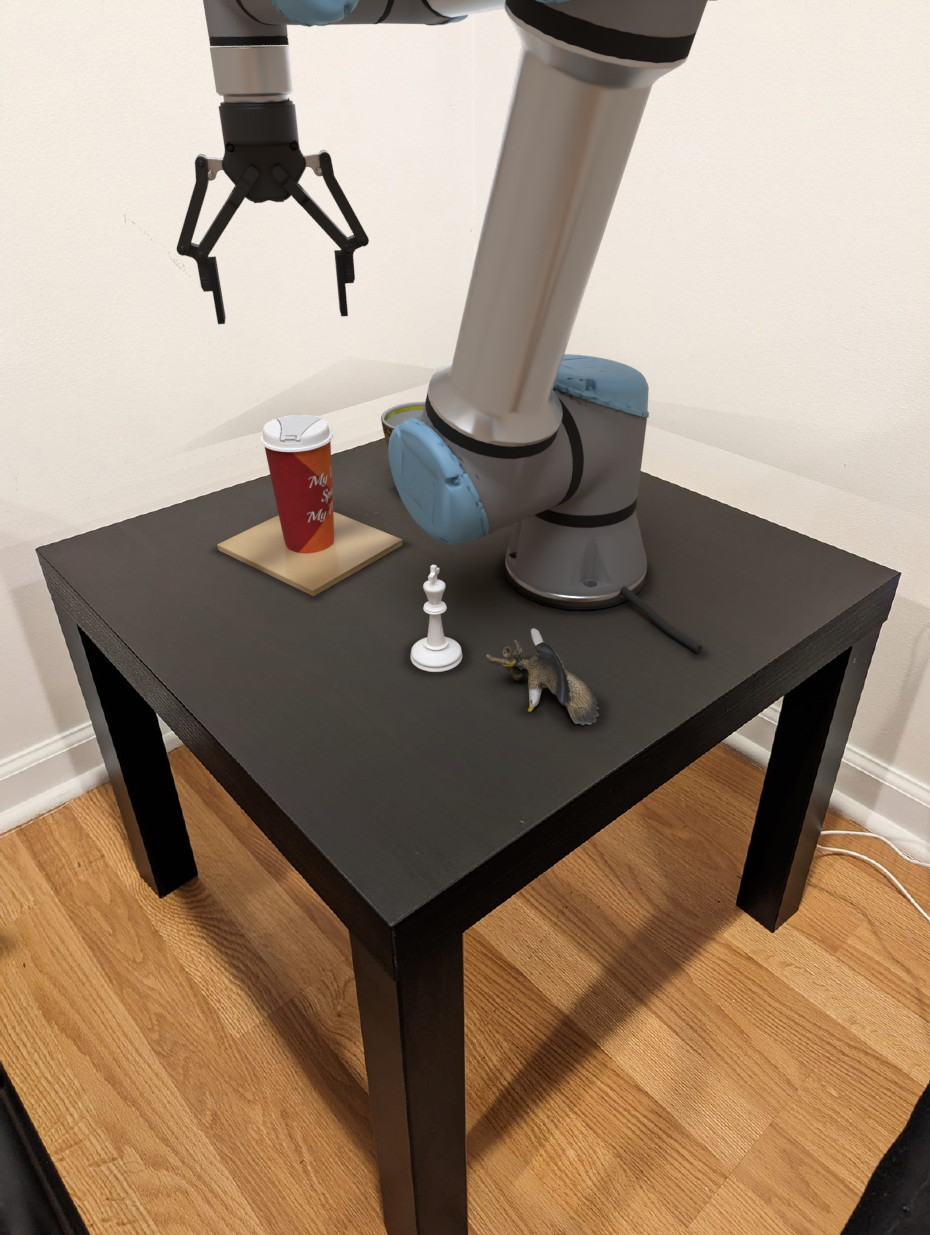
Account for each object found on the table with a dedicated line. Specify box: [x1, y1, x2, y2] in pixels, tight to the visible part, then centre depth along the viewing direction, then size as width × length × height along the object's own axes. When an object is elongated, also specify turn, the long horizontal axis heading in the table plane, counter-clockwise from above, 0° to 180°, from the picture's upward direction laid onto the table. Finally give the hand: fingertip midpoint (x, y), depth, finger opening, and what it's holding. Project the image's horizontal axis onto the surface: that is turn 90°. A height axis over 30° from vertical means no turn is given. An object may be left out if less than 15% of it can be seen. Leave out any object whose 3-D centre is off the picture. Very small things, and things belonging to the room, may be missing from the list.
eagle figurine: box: [485, 627, 600, 726], centre depth 75 cm, size 8×7×9 cm
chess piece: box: [410, 564, 463, 673], centre depth 80 cm, size 5×5×10 cm
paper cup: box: [259, 414, 334, 553], centre depth 96 cm, size 8×8×14 cm
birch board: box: [216, 511, 404, 597], centre depth 100 cm, size 16×14×1 cm
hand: (283, 317), depth 98 cm, fingers open, 13 cm apart
